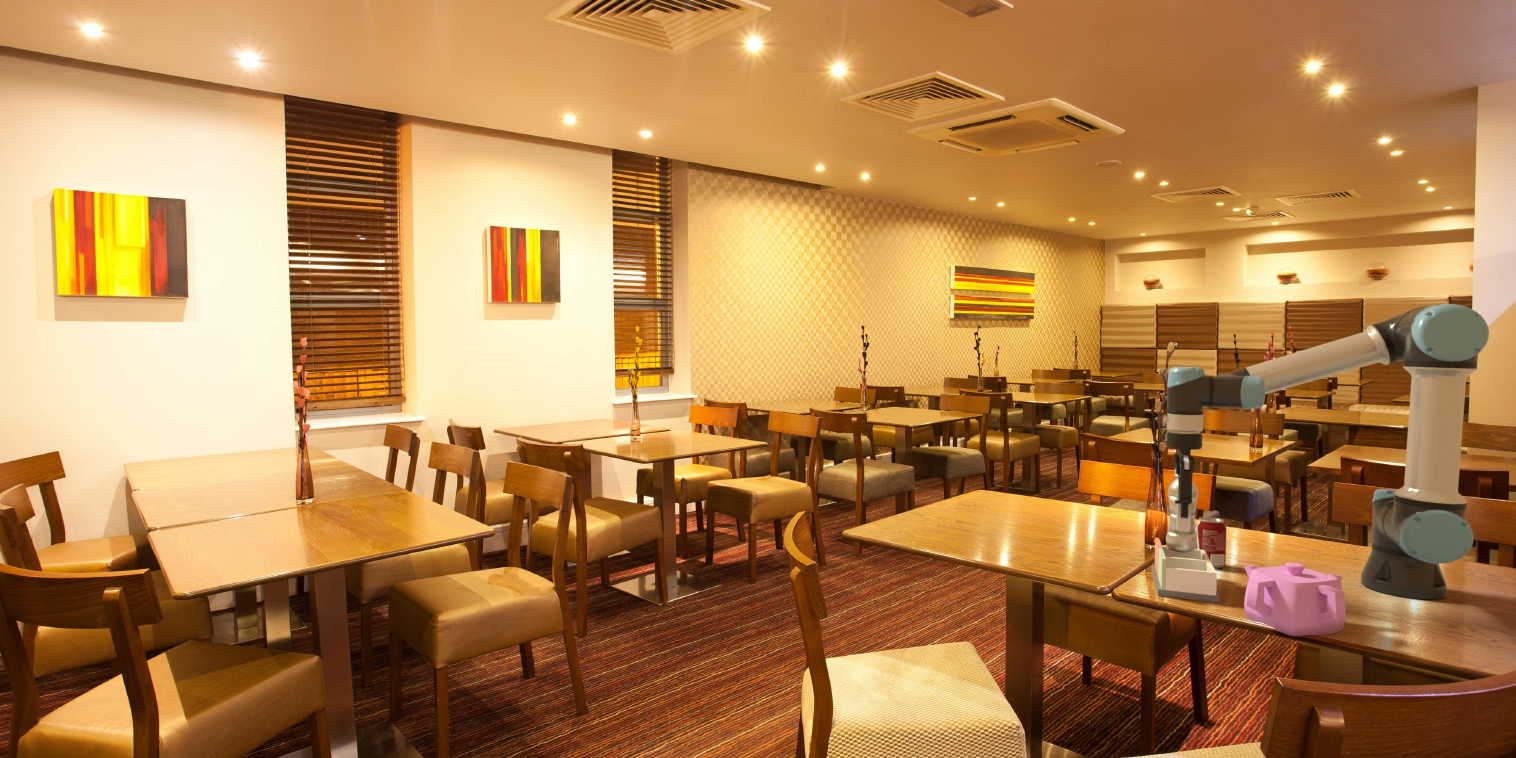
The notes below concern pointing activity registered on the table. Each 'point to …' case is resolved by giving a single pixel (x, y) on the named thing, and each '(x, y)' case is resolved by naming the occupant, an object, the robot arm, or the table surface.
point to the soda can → (1212, 540)
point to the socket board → (1184, 574)
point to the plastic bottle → (1174, 538)
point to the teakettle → (1295, 599)
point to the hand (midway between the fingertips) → (1181, 527)
